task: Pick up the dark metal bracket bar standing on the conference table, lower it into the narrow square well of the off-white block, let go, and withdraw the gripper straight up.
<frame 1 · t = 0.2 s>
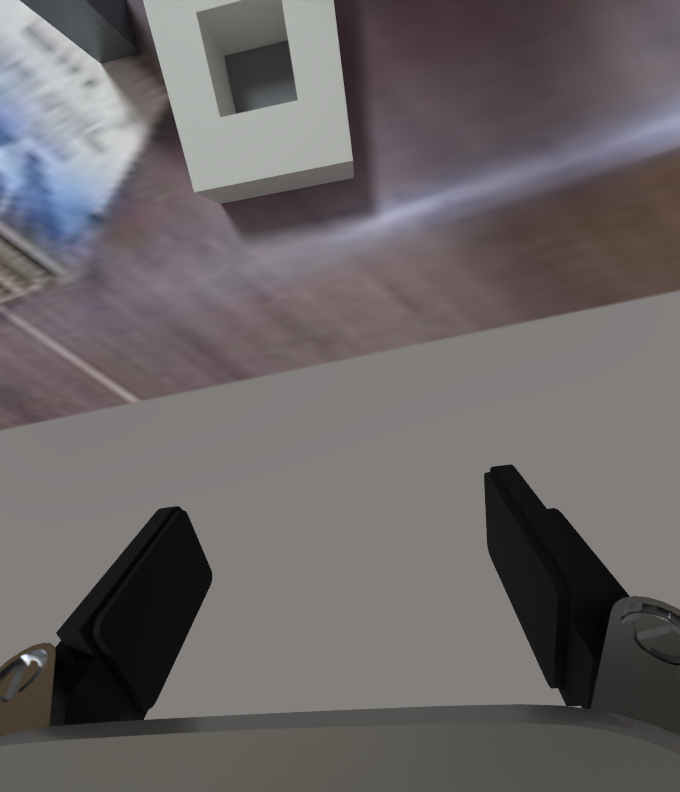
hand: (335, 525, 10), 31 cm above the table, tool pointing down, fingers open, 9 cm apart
well block: (267, 94, 32), on the table
bracket bar: (111, 30, 31), on the table
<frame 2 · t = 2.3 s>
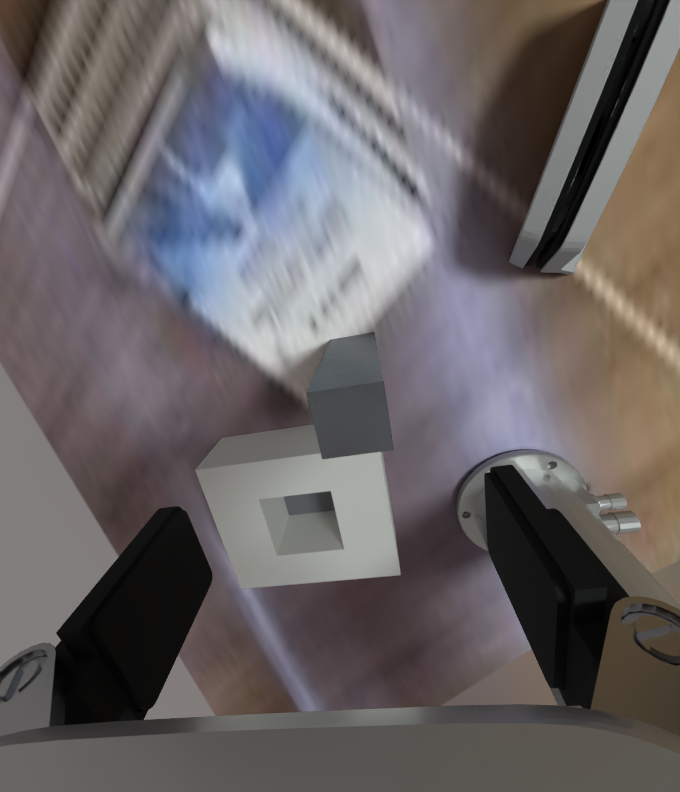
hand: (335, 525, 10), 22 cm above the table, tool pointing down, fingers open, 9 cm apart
well block: (311, 485, 36), on the table
bracket bar: (355, 357, 31), on the table
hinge: (565, 150, 25), on the table
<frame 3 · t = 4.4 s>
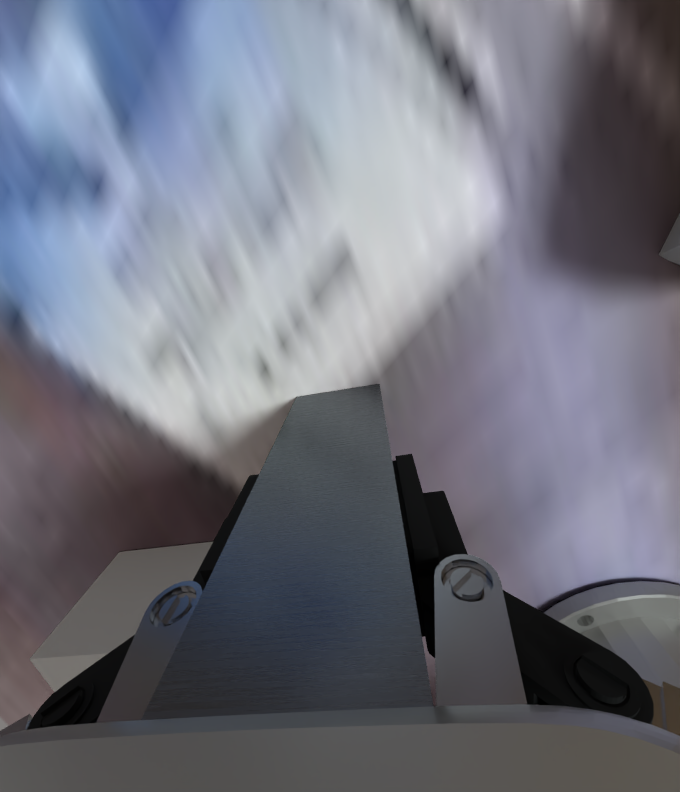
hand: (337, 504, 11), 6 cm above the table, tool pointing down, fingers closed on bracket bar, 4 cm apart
well block: (275, 621, 22), on the table
bracket bar: (344, 428, 17), on the table, touching gripper
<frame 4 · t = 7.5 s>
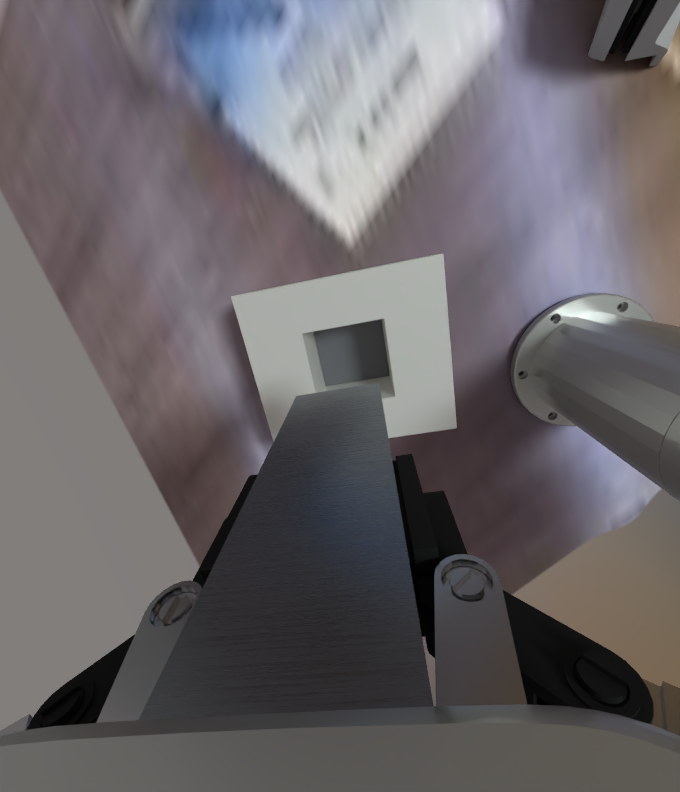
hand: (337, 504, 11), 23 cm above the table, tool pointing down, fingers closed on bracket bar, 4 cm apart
well block: (351, 349, 33), on the table
bracket bar: (344, 427, 17), point 17 cm above the table, touching gripper
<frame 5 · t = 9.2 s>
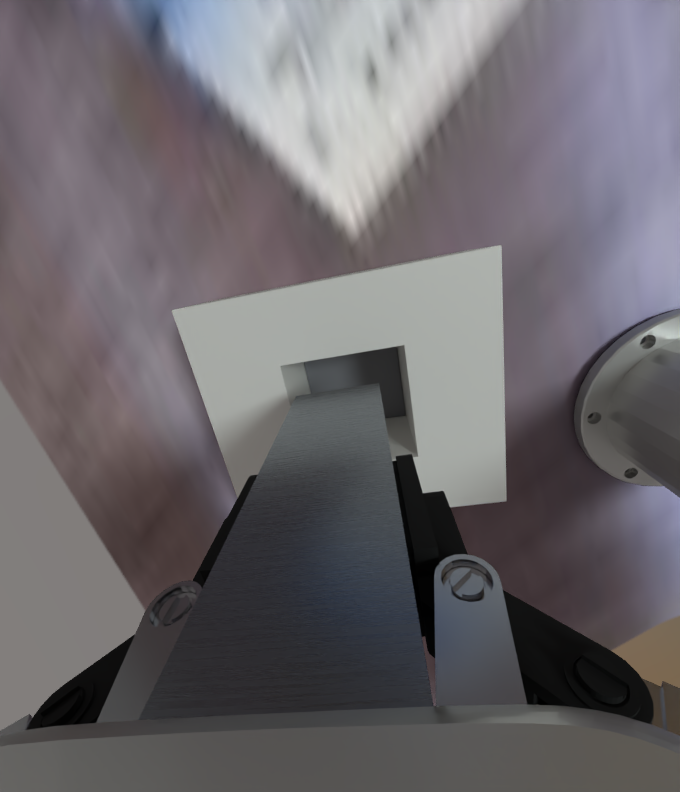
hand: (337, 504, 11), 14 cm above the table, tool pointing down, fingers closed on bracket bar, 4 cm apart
well block: (354, 378, 24), on the table
bracket bar: (344, 427, 17), point 8 cm above the table, touching gripper
when the fingers open (8 cm above the table, at t = 10.6 s): bracket bar drops 2 cm, resting on well block.
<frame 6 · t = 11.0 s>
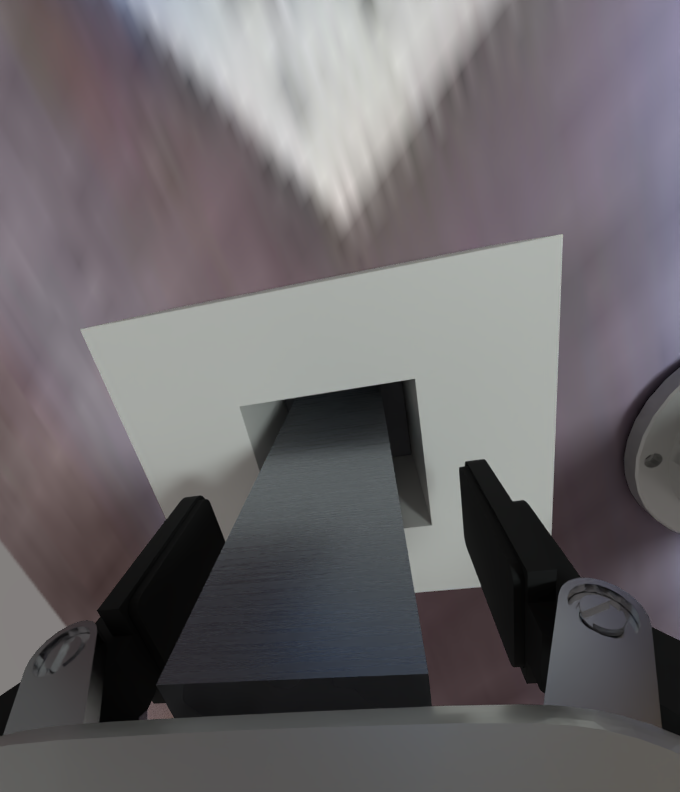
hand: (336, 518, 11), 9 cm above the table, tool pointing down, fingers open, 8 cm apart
well block: (346, 409, 19), on the table
bracket bar: (345, 412, 19), resting on well block
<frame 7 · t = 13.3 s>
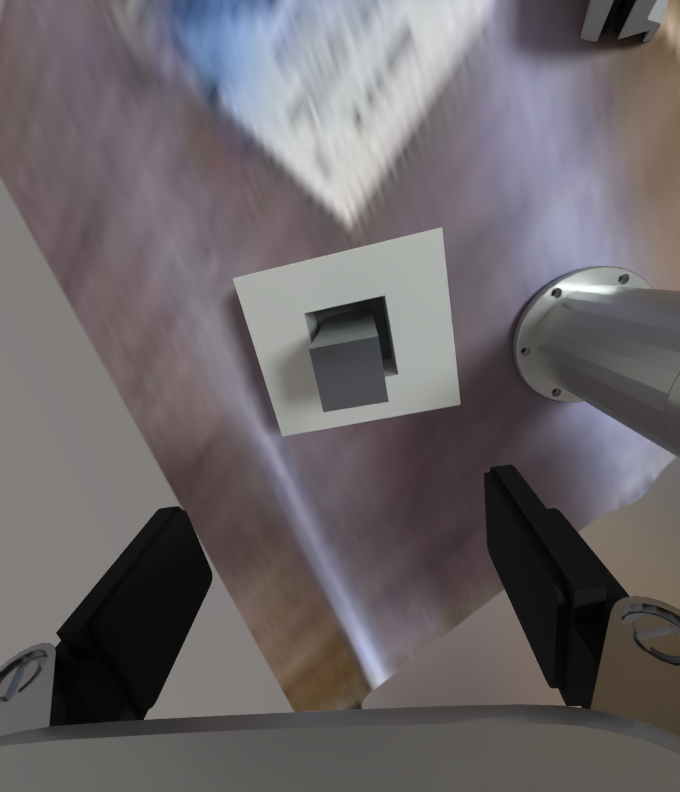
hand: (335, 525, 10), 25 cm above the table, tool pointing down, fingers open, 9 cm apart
well block: (353, 331, 33), on the table
bracket bar: (353, 332, 33), resting on well block
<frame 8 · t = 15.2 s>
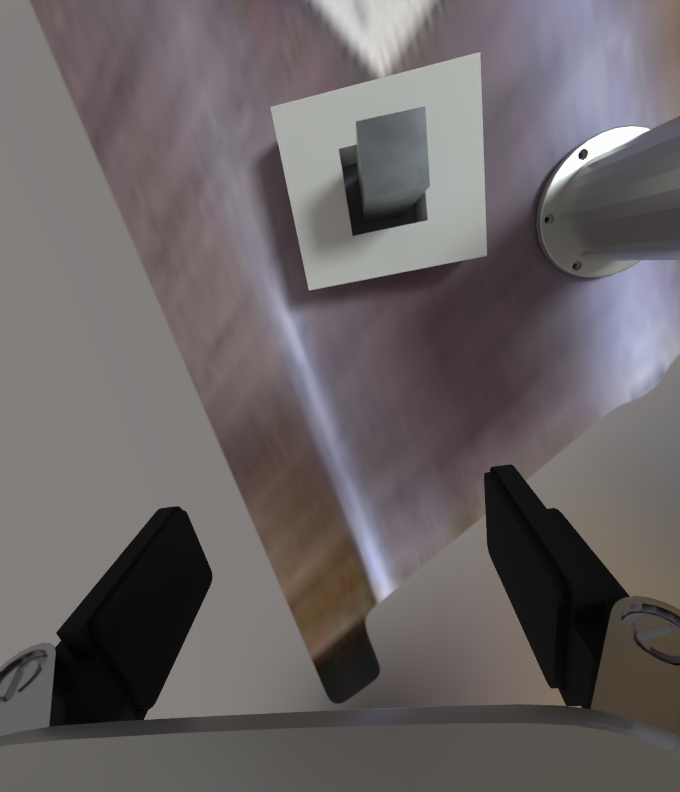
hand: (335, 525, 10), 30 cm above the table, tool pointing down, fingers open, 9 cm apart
well block: (380, 198, 34), on the table
bracket bar: (380, 198, 33), resting on well block
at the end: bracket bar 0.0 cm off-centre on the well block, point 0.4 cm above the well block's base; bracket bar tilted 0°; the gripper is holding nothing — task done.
